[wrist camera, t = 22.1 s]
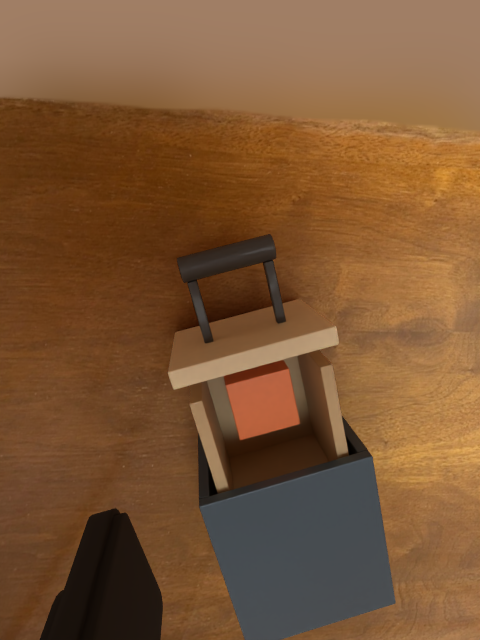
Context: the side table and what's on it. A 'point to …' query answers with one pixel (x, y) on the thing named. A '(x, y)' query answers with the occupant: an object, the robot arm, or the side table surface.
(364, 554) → the cabinet
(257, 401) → the block
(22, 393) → the side table surface
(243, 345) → the drawer
